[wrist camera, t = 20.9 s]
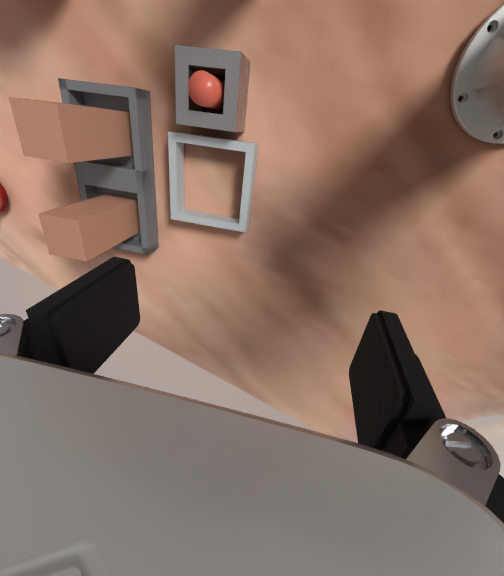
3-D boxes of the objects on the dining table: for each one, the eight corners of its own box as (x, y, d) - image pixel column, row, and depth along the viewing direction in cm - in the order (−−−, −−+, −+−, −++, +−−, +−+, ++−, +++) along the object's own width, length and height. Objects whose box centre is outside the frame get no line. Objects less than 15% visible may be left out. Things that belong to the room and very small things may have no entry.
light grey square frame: (176, 131, 36) (167, 131, 34) (258, 143, 35) (254, 144, 33) (178, 214, 42) (170, 218, 40) (249, 227, 41) (245, 232, 39)
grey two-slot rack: (77, 82, 36) (58, 78, 33) (149, 91, 35) (135, 87, 32) (102, 236, 47) (89, 242, 44) (158, 247, 45) (148, 254, 43)
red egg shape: (203, 76, 32) (188, 68, 28) (228, 79, 32) (216, 72, 28) (202, 107, 33) (188, 104, 30) (226, 110, 33) (215, 107, 29)
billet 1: (95, 107, 36) (8, 96, 26) (131, 112, 36) (56, 104, 25) (101, 149, 39) (24, 155, 29) (134, 155, 38) (68, 163, 28)
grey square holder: (191, 55, 32) (174, 44, 28) (250, 61, 31) (241, 51, 28) (191, 124, 36) (176, 123, 32) (244, 132, 35) (235, 132, 31)
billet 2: (106, 193, 42) (38, 213, 32) (137, 199, 41) (78, 221, 31) (111, 225, 44) (49, 254, 34) (140, 231, 44) (86, 261, 34)
